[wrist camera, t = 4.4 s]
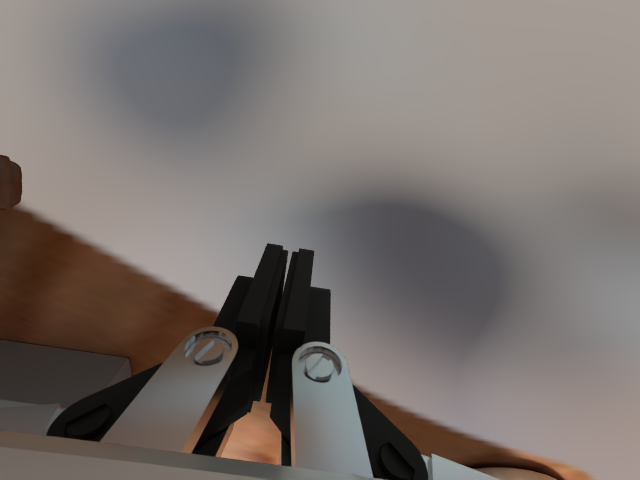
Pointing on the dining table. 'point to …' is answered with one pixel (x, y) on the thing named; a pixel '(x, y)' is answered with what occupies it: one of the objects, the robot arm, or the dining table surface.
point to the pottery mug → (9, 183)
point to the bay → (54, 374)
